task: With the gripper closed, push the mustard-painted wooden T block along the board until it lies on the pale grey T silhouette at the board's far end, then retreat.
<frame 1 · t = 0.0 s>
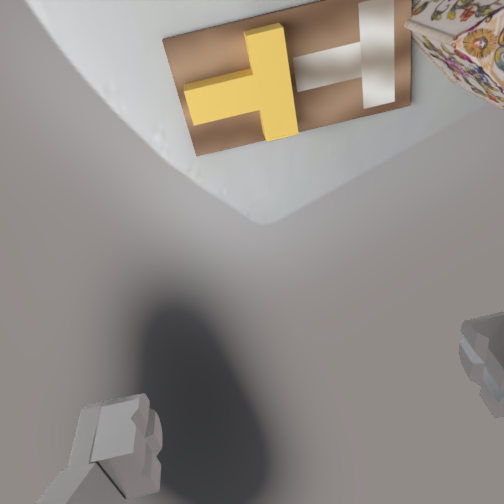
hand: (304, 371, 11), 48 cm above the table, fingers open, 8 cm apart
t block: (254, 85, 53), point 1 cm above the table, touching board
board: (293, 73, 54), on the table
decorative jar: (463, 12, 52), on the table, touching board
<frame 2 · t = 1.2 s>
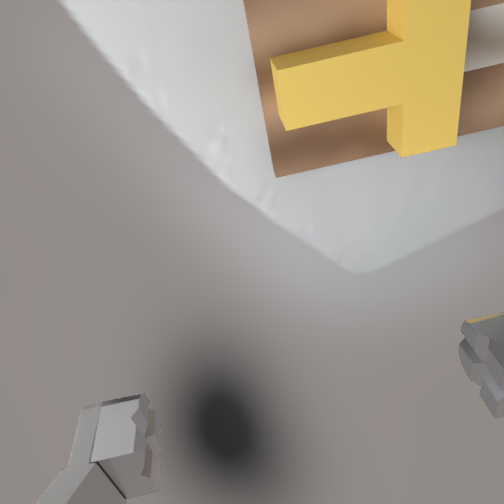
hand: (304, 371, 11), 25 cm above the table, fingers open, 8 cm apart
t block: (386, 61, 31), point 1 cm above the table, touching board
board: (451, 41, 32), on the table
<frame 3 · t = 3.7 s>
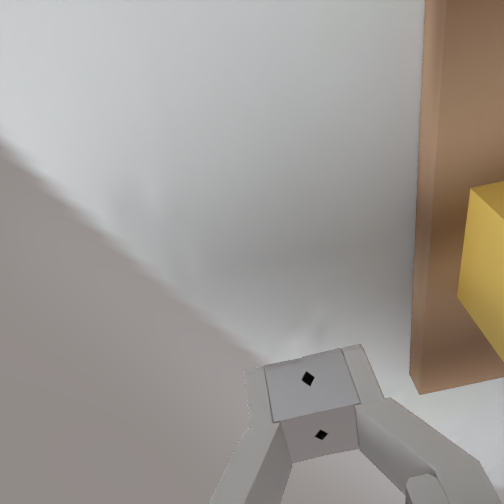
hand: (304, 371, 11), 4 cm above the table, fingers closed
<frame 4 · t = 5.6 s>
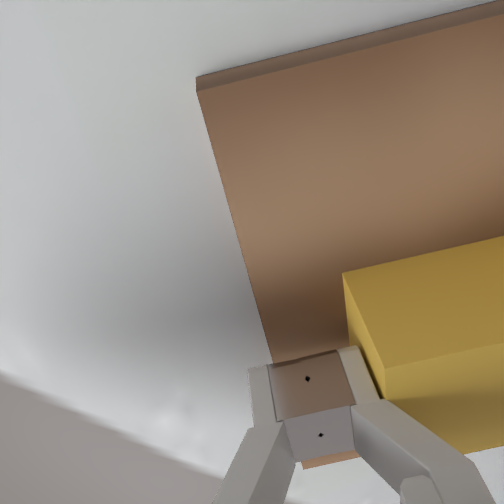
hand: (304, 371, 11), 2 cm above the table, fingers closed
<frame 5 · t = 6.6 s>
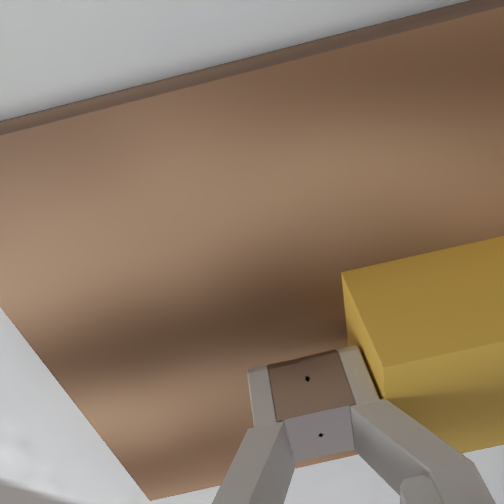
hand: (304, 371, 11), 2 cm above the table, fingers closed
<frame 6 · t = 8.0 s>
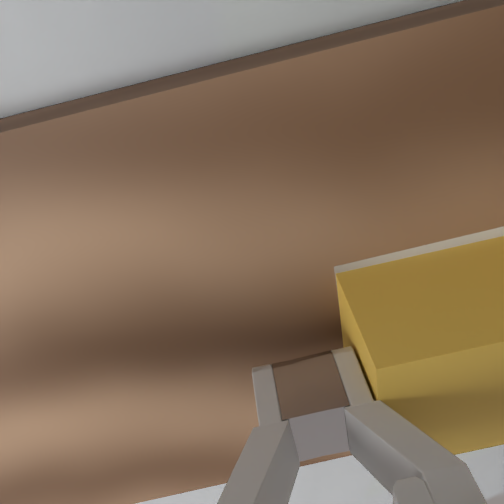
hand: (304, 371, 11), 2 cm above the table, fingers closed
board: (331, 298, 13), on the table
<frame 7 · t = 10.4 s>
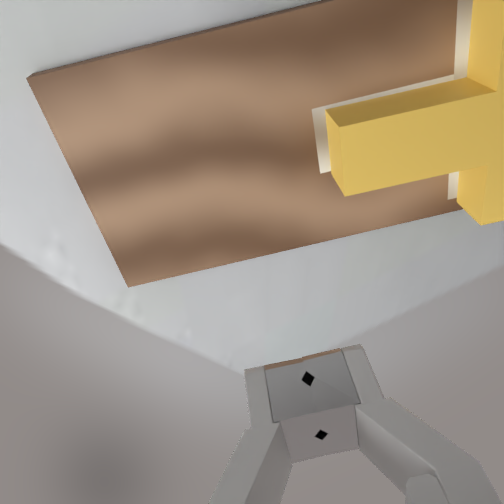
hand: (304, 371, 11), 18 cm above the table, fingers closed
t block: (463, 112, 26), point 1 cm above the table, touching board
board: (312, 136, 27), on the table
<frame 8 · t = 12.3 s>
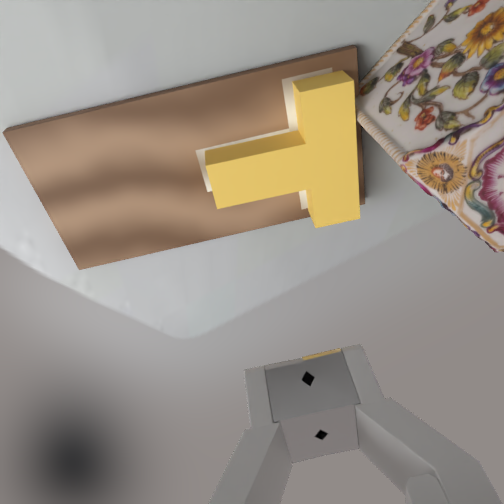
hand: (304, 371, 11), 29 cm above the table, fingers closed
t block: (301, 152, 38), point 1 cm above the table, touching board
board: (201, 166, 39), on the table
decorative jar: (432, 85, 38), on the table, touching board
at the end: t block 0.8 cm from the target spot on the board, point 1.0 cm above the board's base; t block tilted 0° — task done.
